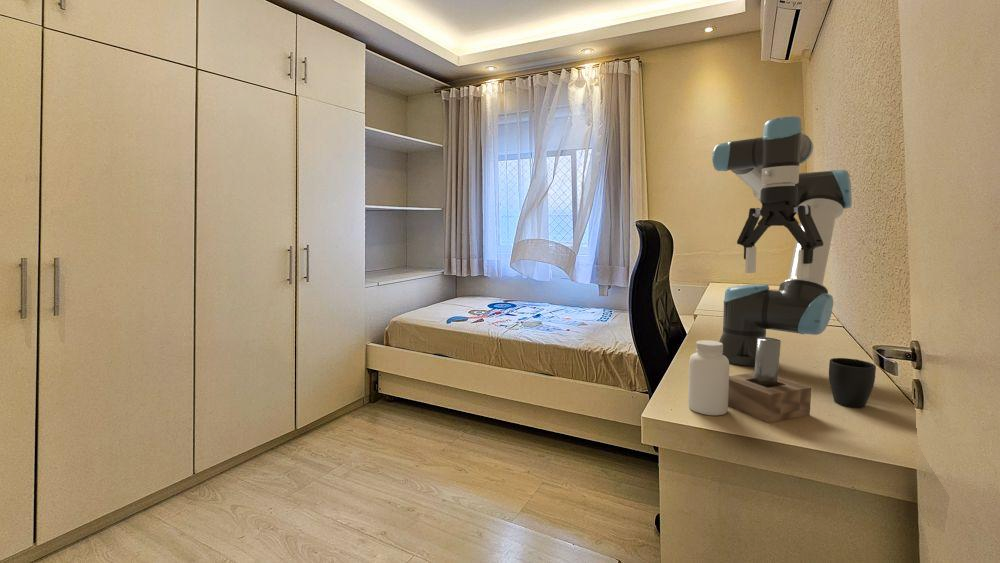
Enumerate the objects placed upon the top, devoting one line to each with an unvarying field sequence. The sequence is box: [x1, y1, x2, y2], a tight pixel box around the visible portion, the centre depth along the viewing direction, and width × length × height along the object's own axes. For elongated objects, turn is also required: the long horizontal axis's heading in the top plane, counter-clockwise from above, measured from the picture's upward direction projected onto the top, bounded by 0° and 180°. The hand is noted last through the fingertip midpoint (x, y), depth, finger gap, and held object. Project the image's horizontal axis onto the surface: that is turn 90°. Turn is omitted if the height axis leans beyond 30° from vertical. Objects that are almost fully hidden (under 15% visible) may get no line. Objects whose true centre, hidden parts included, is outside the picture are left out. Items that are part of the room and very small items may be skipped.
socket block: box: [728, 372, 812, 424], centre depth 97 cm, size 12×12×6 cm
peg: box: [753, 336, 782, 388], centre depth 97 cm, size 4×4×14 cm
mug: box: [828, 357, 877, 409], centre depth 101 cm, size 8×12×10 cm
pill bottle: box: [687, 339, 730, 416], centre depth 97 cm, size 8×8×15 cm
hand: (774, 275), depth 107 cm, fingers open, 13 cm apart
